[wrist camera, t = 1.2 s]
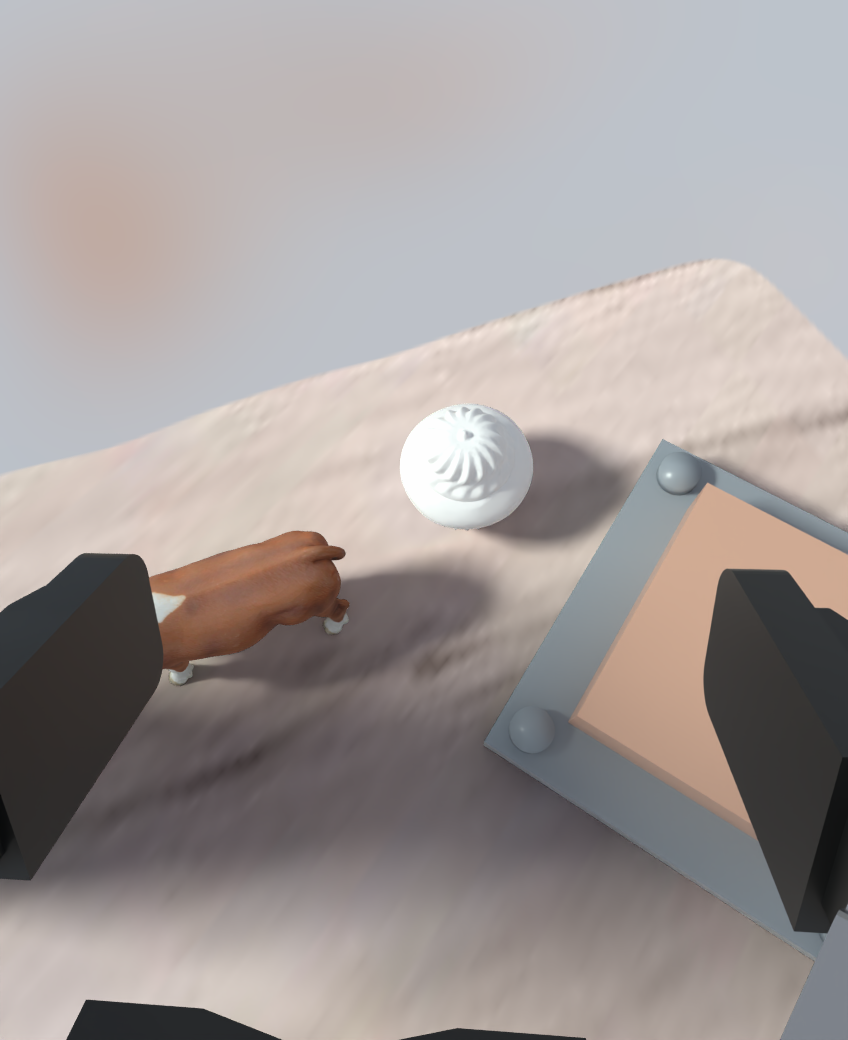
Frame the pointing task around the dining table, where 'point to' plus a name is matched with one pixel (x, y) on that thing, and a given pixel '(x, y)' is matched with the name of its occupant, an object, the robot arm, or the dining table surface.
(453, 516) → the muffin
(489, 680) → the dining table surface
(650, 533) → the grey pegged tray
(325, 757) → the dining table surface
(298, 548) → the bull figurine
